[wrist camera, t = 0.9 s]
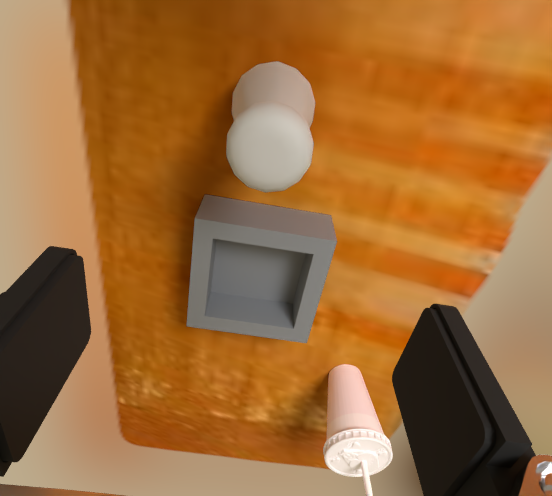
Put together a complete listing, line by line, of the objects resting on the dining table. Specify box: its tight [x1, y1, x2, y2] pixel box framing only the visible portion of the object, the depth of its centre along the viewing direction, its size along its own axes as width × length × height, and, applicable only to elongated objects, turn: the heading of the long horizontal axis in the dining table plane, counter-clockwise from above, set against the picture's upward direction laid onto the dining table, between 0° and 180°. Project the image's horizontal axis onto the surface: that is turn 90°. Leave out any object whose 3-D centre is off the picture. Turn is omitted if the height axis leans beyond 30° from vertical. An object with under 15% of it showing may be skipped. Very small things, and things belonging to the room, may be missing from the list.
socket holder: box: [187, 194, 337, 343], centre depth 35 cm, size 11×11×4 cm
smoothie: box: [323, 364, 393, 496], centre depth 39 cm, size 6×6×14 cm
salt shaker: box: [226, 61, 315, 192], centre depth 24 cm, size 6×6×13 cm
